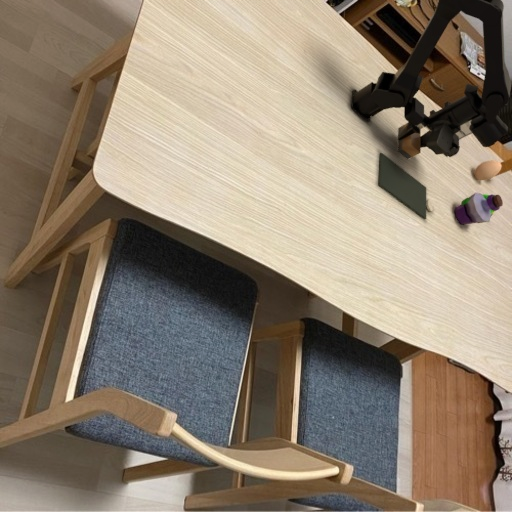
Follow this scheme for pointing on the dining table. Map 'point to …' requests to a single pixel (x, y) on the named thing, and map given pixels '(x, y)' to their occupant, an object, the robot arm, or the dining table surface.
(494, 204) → the potion bottle
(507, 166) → the supplement box
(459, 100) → the robot arm
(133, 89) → the dining table surface
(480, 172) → the egg
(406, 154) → the brown rectangular block
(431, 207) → the beige disc
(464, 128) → the ink box
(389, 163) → the chalkboard
